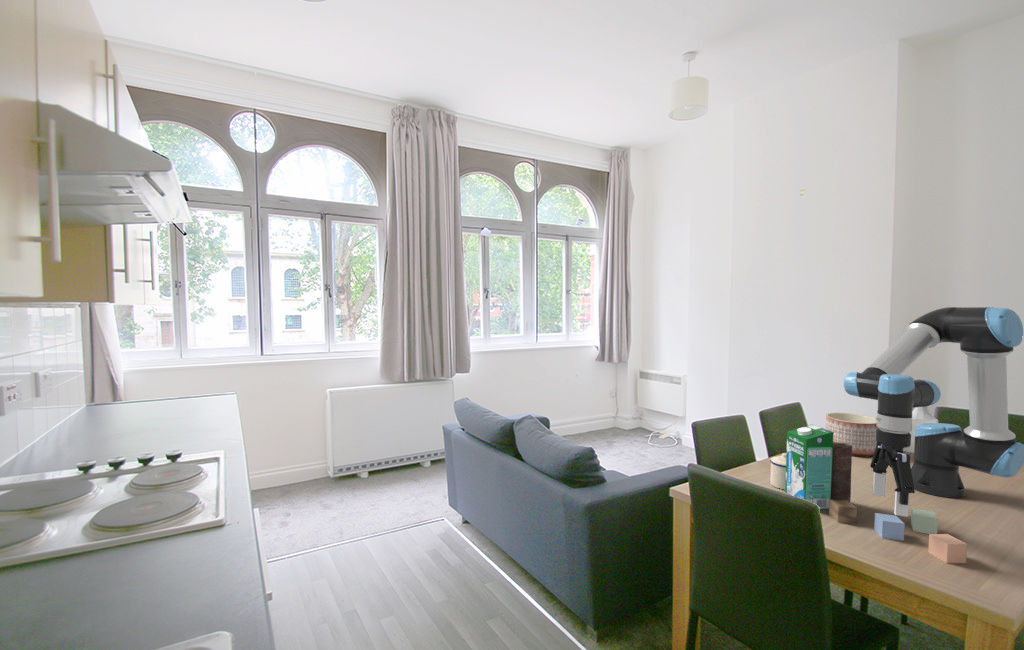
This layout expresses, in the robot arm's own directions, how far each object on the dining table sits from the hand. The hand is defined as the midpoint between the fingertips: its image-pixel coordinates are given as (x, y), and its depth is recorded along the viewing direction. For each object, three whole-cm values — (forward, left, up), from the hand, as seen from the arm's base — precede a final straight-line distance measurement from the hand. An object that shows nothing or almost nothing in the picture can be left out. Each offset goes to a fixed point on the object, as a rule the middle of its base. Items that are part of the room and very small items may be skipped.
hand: (889, 504), depth 129 cm
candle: (+7, -19, -9) cm, 22 cm away
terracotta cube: (-9, +9, -9) cm, 16 cm away
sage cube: (-11, -7, -9) cm, 16 cm away
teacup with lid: (+19, -31, -9) cm, 37 cm away
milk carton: (+16, -16, -9) cm, 24 cm away
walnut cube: (+9, -7, -9) cm, 14 cm away
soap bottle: (-46, -92, -9) cm, 104 cm away
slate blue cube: (0, 0, -9) cm, 9 cm away
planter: (-18, -84, -9) cm, 87 cm away
